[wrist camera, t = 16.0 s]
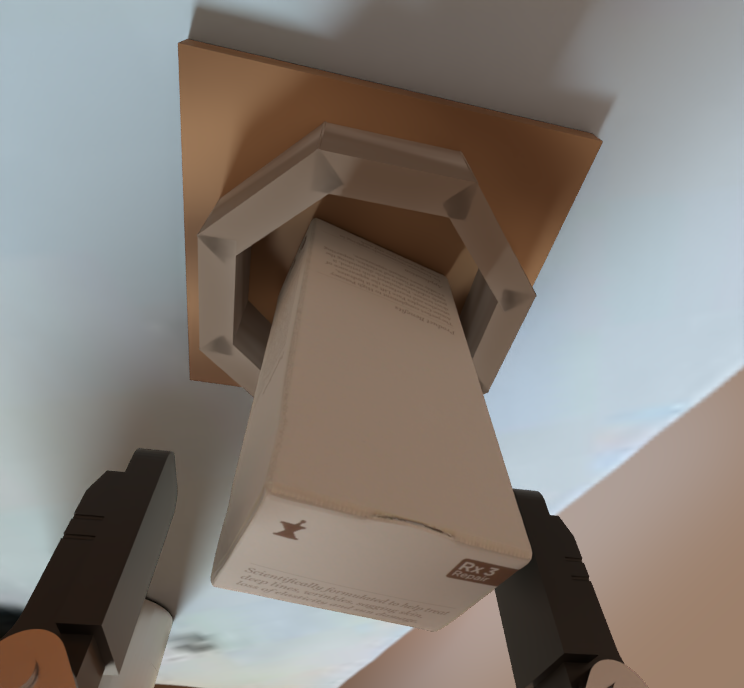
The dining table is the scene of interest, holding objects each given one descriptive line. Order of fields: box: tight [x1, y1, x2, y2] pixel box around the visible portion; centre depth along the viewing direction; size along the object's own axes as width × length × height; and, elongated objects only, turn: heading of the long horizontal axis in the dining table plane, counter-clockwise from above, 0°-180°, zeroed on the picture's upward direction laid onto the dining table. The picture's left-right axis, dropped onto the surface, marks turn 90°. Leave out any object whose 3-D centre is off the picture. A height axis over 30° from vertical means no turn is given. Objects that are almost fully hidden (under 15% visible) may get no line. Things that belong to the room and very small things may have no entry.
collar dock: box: [178, 39, 603, 397], centre depth 19 cm, size 14×14×4 cm
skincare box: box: [211, 218, 532, 632], centre depth 15 cm, size 6×4×12 cm
